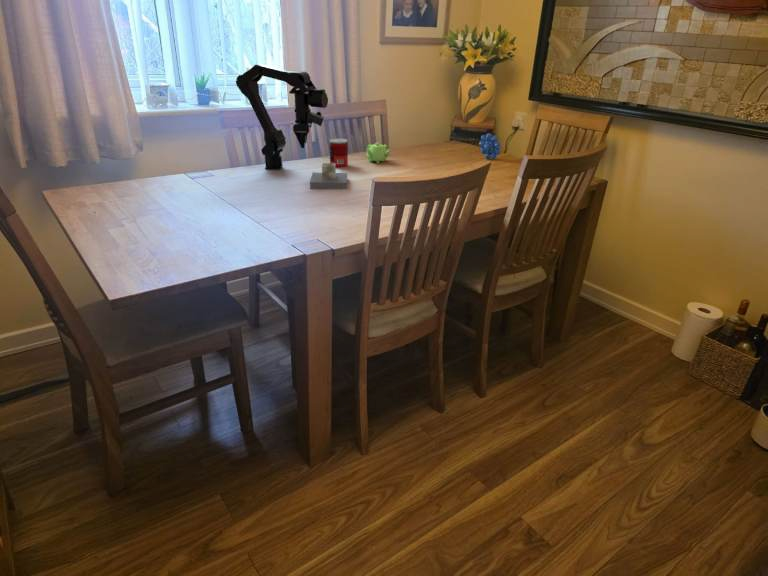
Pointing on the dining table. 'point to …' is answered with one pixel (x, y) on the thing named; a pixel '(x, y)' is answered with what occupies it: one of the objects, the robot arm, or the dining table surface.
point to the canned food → (339, 152)
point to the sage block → (328, 170)
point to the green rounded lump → (377, 152)
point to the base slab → (328, 181)
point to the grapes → (489, 146)
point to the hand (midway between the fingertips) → (303, 145)
